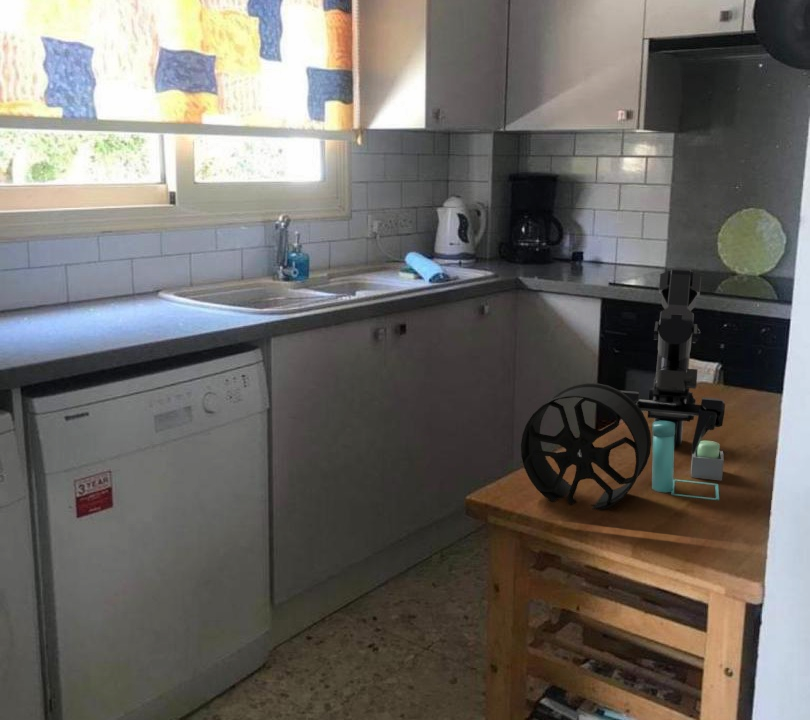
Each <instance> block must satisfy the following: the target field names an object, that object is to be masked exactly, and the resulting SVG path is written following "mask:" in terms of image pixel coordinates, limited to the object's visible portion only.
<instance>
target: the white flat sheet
mask: <svg viewBox="0 0 810 720" xmlns="http://www.w3.org/2000/svg"><path fill="white" fill-rule="evenodd" d="M676 482H684V483H694V484H702V485H712V486H714V488H715V498H714V497H707V496H706V497H704V496H697V495H688V494H681V493H680V494H679V493H675V483H676ZM719 492H720V491H719V484H718V483H711V482H702V481H693V480H685V479H684V480H683V479H675V478H673V491H671V492H670V495H671V496H680V497H687V498H696V499H704V500H714V501H720V494H719Z"/></svg>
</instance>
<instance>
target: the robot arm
mask: <svg viewBox="0 0 810 720" xmlns="http://www.w3.org/2000/svg"><path fill="white" fill-rule="evenodd" d="M701 283H702V275H699V274H697V273H695V272H694V270H691V268H690V269H689V268H685V269H684V268H674V267H673V268H671V269H668V271H666V272H662V273H660V274H659V285H658V294H659V295H661V306H662V308H663V310H661V311H660V312H659V321H655V323H654V330H653V340H654V341H657V358H656V360H657V361H656V370H655V376H654V378H653V386H652V388H649V394H648V399H641V398H640V392H639V391H633V390H631V391H629V390H619V391H621V392H622V393H624V394H625V395H627V396H628V397H630V398H631V399H632V400H633V401H634V402H635V403H636V404H637V406H638V407H639V408H640V410H641V411H642V412H643V411H644V412H647V418H648V419H653V422H655V421H670V422H673V423H675V435H674V449H675V448H676V447H680V446H682V441H683V426H684V422H689V423H690V422H691V421H694V419H695V417H697V421H696V426H695V430H694V435H693V438H692V439H693V441H692V445H691V455H692V454H694V453H695V451H696V449H698V445H699V443H700V441H702V439H703V438H704V437H705V435H706V434H707V433H708V432H709V431H714V430H715V429H716V428H720V427H723V423H724V417H725V411H726V408H725V407H726V403H725V401H724V400H723V398H712V397H704V396H703V397H701V403H700V404H696V401H697V400H696V398H695V397H694V395H693V392H692V391H690V389H694V390H695V389H697V383H698V369H697V368H690V353H691V348H692V346H693V345H692V344H696V343H697V341H698V340H700V339H701V330H700V329H699V327H698V324H697V323H694V319H695V314H694V313H693V311H692V310H694V308H695V307H696V301H697V297H700V295H701ZM620 419H621V417H620ZM651 439H653V436H651Z"/></svg>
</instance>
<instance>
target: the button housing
mask: <svg viewBox="0 0 810 720" xmlns="http://www.w3.org/2000/svg"><path fill="white" fill-rule="evenodd" d="M697 450H698V448H697V449H696V451H695V453H694V454H692V453H691V462H690V463H691V464H690V477H691V478H696V479H703V480H713V481H723V475H724V474H723V473H724V472H723V471H724V464H725V463H724V462H725V461H724V458H725V457H724V451H723V450H719V458H718V459H714V458H705V457H697Z"/></svg>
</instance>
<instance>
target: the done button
mask: <svg viewBox="0 0 810 720" xmlns="http://www.w3.org/2000/svg"><path fill="white" fill-rule="evenodd" d="M720 446H721V444H720V443H719V442H716V441H712V440H701V441H700V443H699V445H698V447H697V449H698V450H697V457H705V458H714V459H718V458H719V451H720V448H721V447H720Z"/></svg>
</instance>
